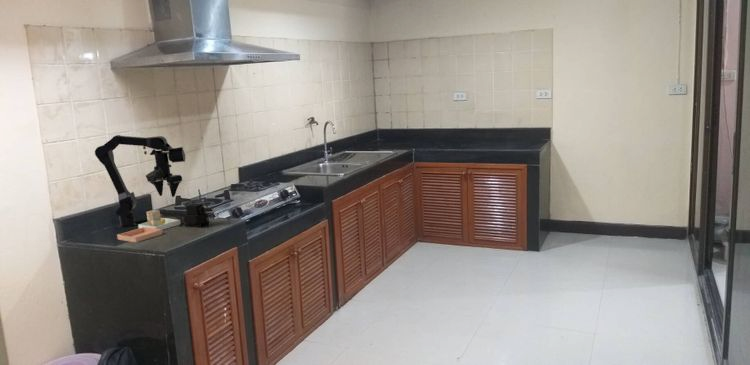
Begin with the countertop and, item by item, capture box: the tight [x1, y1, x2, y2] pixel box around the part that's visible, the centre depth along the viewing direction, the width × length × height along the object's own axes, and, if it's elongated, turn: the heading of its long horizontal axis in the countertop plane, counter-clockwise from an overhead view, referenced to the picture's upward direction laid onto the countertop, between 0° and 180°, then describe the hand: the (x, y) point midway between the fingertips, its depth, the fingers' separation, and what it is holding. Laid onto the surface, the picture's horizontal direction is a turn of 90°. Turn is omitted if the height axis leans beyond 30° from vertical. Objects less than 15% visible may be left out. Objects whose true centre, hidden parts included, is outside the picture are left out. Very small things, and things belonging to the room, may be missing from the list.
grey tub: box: [137, 217, 181, 231], centre depth 273 cm, size 13×13×2 cm
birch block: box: [146, 209, 162, 227], centre depth 270 cm, size 4×4×8 cm
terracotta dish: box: [116, 227, 163, 243], centre depth 257 cm, size 13×13×2 cm
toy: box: [183, 203, 213, 229], centre depth 268 cm, size 8×14×10 cm, turn 66°
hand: (167, 196), depth 281 cm, fingers open, 9 cm apart
